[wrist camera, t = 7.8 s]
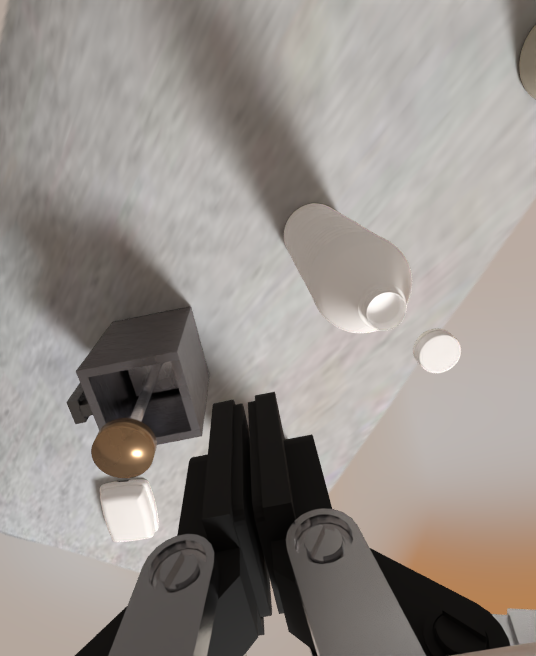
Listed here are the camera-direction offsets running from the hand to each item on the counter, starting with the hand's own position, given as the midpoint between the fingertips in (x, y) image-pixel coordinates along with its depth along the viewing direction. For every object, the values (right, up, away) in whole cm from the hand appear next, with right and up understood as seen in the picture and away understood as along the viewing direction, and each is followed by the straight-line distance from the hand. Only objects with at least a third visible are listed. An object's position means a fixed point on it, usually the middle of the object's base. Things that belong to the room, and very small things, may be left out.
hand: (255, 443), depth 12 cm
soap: (-18, -21, +48) cm, 55 cm away
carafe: (-13, 0, +39) cm, 41 cm away
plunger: (-12, -1, +36) cm, 38 cm away
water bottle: (+6, +13, +36) cm, 38 cm away
